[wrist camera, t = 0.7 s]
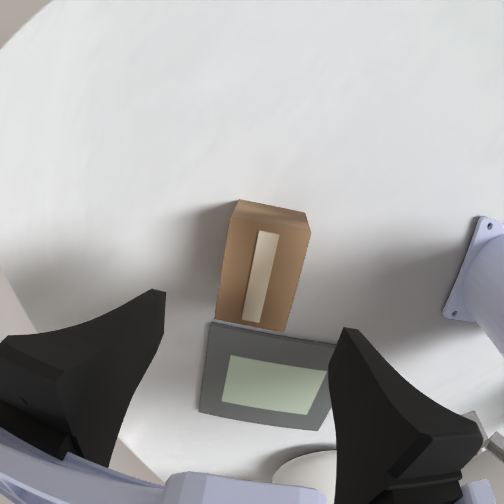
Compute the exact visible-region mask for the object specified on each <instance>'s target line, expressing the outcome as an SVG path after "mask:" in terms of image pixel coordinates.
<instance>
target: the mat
mask: <svg viewBox="0 0 504 504" xmlns="http://www.w3.org/2000/svg"><path fill="white" fill-rule="evenodd" d="M335 347H336V345H333V344H326V343H320V342H314V341H308V340H302V339H296V338H290V337H284V336H279V335H273V334H268V333H263V332H257V331H252V330H247V329H242V328H237V327H232V326H228V325H223V324H218V323H214V322H211V325H210V331H209V338H208V345H207V352H206V360H205V367H204V374H203V382H202V389H201V397H200V405H199V412H201V413H205V414H210V415H214V416H219V417H224V418H229V419H234V420H240V421H246V422H251V423H257V424H264V425H271V426H278V427H285V428H293V429H302V430H312V431H318V430H319V428H320V427H321V425H322V423H323V421H324V420H325V418H326V416H327V414H328V412H329V410H330V409H331V407H332V404H331V398H330V392H329V385H328V364H329V362H330V359H331V357H332V355H333V352H334V350H335Z"/></svg>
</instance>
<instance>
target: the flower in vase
mask: <svg viewBox="0 0 504 504" xmlns="http://www.w3.org/2000/svg"><path fill="white" fill-rule="evenodd" d="M336 462H337V450H331V451H321V452H315V453H310V454H306V455H303V456H300V457H297V458H294V459H292V460H290V461H288V462H286V463H285V464H283V465H282V466H281V467H280V468H279V469H278V470H277V471H276V472H275V473H274V475H273V477H272V483H274V484H285V485H298V486H304V487H309V488H315V489H316V490H318V491H319V492H321V493H322V494H324V495H325V496H326V501H327V504H334V497H335V485H336Z"/></svg>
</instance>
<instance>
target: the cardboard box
mask: <svg viewBox="0 0 504 504" xmlns="http://www.w3.org/2000/svg"><path fill="white" fill-rule="evenodd" d="M310 236H311V231H310V227H309V224H308V221H307V217H306V214H305V213H304V212H299V211H294V210H290V209H285V208H280V207H275V206H270V205H265V204H260V203H255V202H250V201H245V200H240V199H239V201H238V203H237V205H236V207H235V209H234V211H233V213H232V214H231V216H230V222H229V228H228V234H227V240H226V246H225V252H224V259H223V265H222V271H221V277H220V284H219V290H218V297H217V303H216V310H215V317H214V319H218V320H222V321H227V322H232V323H237V324H242V325H247V326H252V327H258V328H263V329H268V330H274V331H279V332H284V331H285V327H286V324H287V320H288V317H289V313H290V310H291V306H292V303H293V299H294V296H295V292H296V288H297V285H298V281H299V277H300V274H301V270H302V266H303V262H304V259H305V255H306V251H307V247H308V243H309V239H310Z"/></svg>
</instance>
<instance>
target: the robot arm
mask: <svg viewBox="0 0 504 504" xmlns="http://www.w3.org/2000/svg"><path fill="white" fill-rule="evenodd" d="M489 223H490V226H489V227H488V228H487V225H488V224H489ZM165 300H166V292H163V291H159V290H154V289H151V290H149V291H147V292H145V293H143V294H141V295H140V296H138V297H136V298H135V299H133V300H131V301H129V302H127V303H126V304H124V305H122V306H120V307H118V308H116V309H114V310H112V311H110V312H108V313H106V314H104V315H102V316H100V317H97V318H95V319H93V320H90V321H87V322H84V323H82V324H79V325H75V326H72V327H68V328H64V329H60V330H56V331H51V332H45V333H39V334H30V335H11V336H10V335H8V336H7V337H6V338H5V339H4V340H3V341H2V342H1V343H0V493H1V494H2V495H3V496H5V497H6V498H8V499H9V500H11V501H12V502H14V503H15V504H327V501H326V496H325V495H324V494H322V493H321V492H319V491H318V490H316V489H315V488H309V487H304V486H298V485H285V484H274V483H265V482H257V481H250V480H243V479H236V478H230V477H224V476H219V475H214V474H209V473H199V472H190V471H188V472H183V473H176V474H173V475H171V476H170V477H169V479H168V480H167V481H166V484H165V486H161V485H158V484H154V483H151V482H147V481H144V480H140V479H138V478H134V477H131V476H128V475H125V474H122V473H120V472H117V471H114V470H111V469H109V468H108V467H109V463H110V459H111V455H112V452H113V449H114V446H115V442H116V440H117V436H118V433H119V431H120V428H121V425H122V422H123V419H124V416H125V414H126V411H127V409H128V406H129V403H130V401H131V399H132V396H133V394H134V392H135V390H136V388H137V387H138V385H139V383H140V381H141V379H142V378H143V376H144V374H145V372H146V370H147V369H148V367H149V365H150V363H151V361H152V359H153V358H154V356H155V354H156V352H157V349H158V347H159V344H160V342H161V339H162V336H163V334H164V317H165ZM454 311H455V312H454ZM453 312H454V313H453ZM442 313H443V315H444V317H445V318H448V319H454V320H461V321H468V322H474V323H478V324H479V326H480V327H481V328H482V329H483V331H484V332H485V333H486V335H487V336H488V337H489V338H490V340H491V341H492V342H493V344H494V345H495V346H496V348H497V349H498V350H499V352H500V353H501V354H502V356H503V357H504V224H503V223H501V222H498V221H496V220H493V219H491V218H488V217H485V216H482V217H480V218H479V220H478V223H477V226H476V229H475V232H474V235H473V237H472V240H471V243H470V246H469V249H468V251H467V254H466V257H465V259H464V262H463V265H462V267H461V270H460V272H459V275H458V277H457V279H456V282H455V284H454V287H453V289H452V291H451V293H450V296H449V298H448V300H447V302H446V305H445V307H444V309H443V312H442ZM452 313H453V314H452ZM328 385H329V392H330V398H331V404H332V410H333V417H334V423H335V430H336V448H337V462H336V485H335V497H334V504H497V503H496V500H495V497H494V495H493V492H492V489H491V486H490V484H489V481H488V479H482V480H478V481H475V482H471V483H467V484H465V485H463V486H461V487H460V485H459V482H458V480H460V479H462V473H461V471H460V470H461V469H462V468H463V467H464V466H465V465H466V464H467V463H468V462H469V461H470V460H471V459H472V458H473V457H474V456H475V455H476V454H477V453H478V451H479V450H480V448H481V446H482V444H483V440H484V438H483V436H482V434H481V432H480V429H479V427H478V425H477V423H476V422H475V421H473V420H470V419H468V418H465V417H463V416H461V415H458V414H456V413H454V412H452V411H450V410H449V409H447V408H445V407H443V406H441V405H440V404H438V403H436V402H435V401H433V400H432V399H430V398H429V397H427V396H426V395H424V394H423V393H421V392H420V391H419V390H417V389H416V388H415V387H414V386H412V385H411V384H410V383H409V382H408V381H406V380H405V379H404V378H403V377H402V376H401V375H400V374H399V373H398V372H397V371H396V370H395V369H394V368H393V367H392V366H391V365H390V364H389V363H388V362H387V361H386V360H385V359H384V358H383V357H382V356H381V355H380V354H379V352H378V351H377V350H376V349H375V348H374V347H373V346H372V345H371V343H370V342H369V341H368V340H367V339H366V338H365V337H364V336H363V334H362V333H361V332H360V331H359V330H357V329H351V328H345V327H344V328H343V330H342V333H341V335H340V338H339V340H338V343H337V345H336V347H335V350H334V352H333V355H332V357H331V359H330V362H329V364H328Z"/></svg>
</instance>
